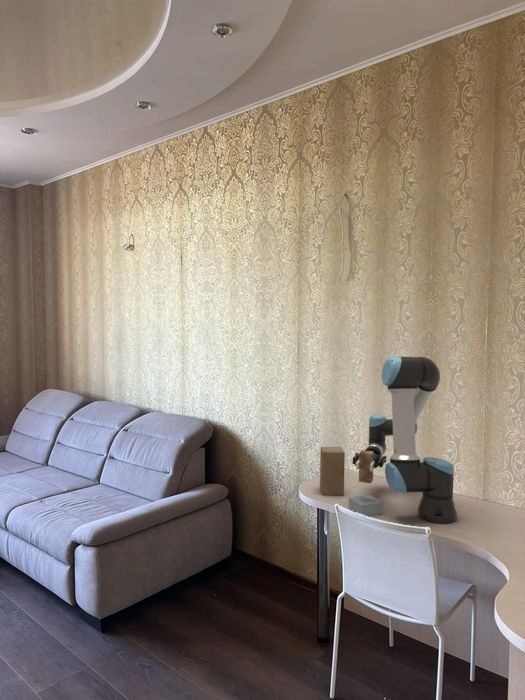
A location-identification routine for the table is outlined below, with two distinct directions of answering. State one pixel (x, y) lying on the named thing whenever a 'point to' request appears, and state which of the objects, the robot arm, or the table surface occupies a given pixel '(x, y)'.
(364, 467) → the walnut block
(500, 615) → the table surface
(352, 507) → the grey base block
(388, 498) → the table surface
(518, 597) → the table surface
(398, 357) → the robot arm
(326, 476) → the wooden block
